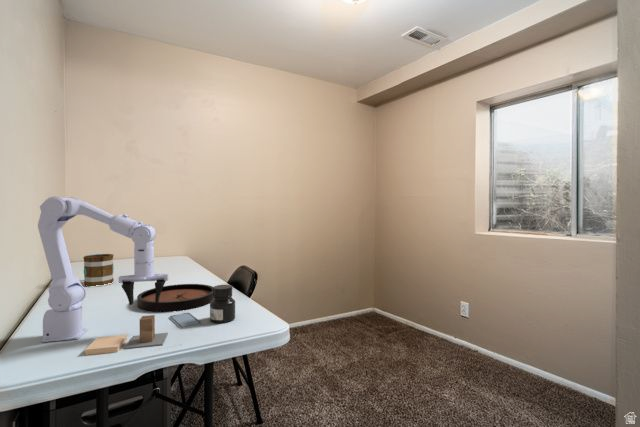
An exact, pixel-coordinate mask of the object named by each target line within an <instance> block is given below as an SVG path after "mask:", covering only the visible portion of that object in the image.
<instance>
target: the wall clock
mask: <svg viewBox="0 0 640 427" xmlns="http://www.w3.org/2000/svg"><path fill="white" fill-rule="evenodd" d="M213 287H214V286H212V285H208V284H202V283H201V284H199V283H183V284H182V283H181V284H179V283H178V284H170V285H164V286H163V288H162V291H161V294H160V298H159V302H158V303H155V297H156V290H155V287H154V288H150V289H148V290H145V291H143V292H140V293H139V294H138V295H137V297H136V302H137V304H136V306H137V308H138V309H139V310H141V311H144V312H150V313H151V312H152V313H172V312H173V311H176V312H182V311H183V310H184V311H189V310H193V309H198V308H201V307H205V306H207V305H210V302H211V301H212V300H213V299H214V298H213ZM173 313H174V312H173Z"/></svg>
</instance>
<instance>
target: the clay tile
mask: <svg viewBox="0 0 640 427" xmlns="http://www.w3.org/2000/svg"><path fill="white" fill-rule="evenodd" d="M127 340H128V334H120V335H119V334H118V335H110V336H109V335H108V336H97V337H96V338H95V339H94V340H93V341H92V342H91V343H90V344H89V345H88V346H87V347H86V348H85V349H84V355H85V356H91V355H101V354H102V355H103V354H111V353H118V352H119V351H120V349H121V348H122V347H123V346H124V344H125V343H126V341H127Z"/></svg>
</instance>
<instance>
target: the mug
mask: <svg viewBox="0 0 640 427" xmlns="http://www.w3.org/2000/svg"><path fill="white" fill-rule="evenodd" d="M114 256H115V255H114V253H113V254H111V253H99V254H98V253H96V254H89V255H88V254H87V255H85V256H83V275H84V277H83V278H84V280H83V281H84V283H83V286H84V285H87V286H96V285H104V284H108V283H112V282H113V281H114V282H115V280H114ZM114 282H113V283H114ZM113 283H112V284H113ZM87 286H86V287H87Z"/></svg>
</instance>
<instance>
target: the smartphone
mask: <svg viewBox="0 0 640 427" xmlns="http://www.w3.org/2000/svg"><path fill="white" fill-rule="evenodd" d="M169 320H171V321H172V322H173V323H174V324H175V325H176V326H177V327H178V328H179V329H182V330H184V329H188V328H189V329H190V328H192V327H198V326H201V325H203V322H202V321H200V319H198V318H197V317H196V316H194V315H193V314H192V313H191V312H183V313H178V314H172V315H170V316H169Z"/></svg>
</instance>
